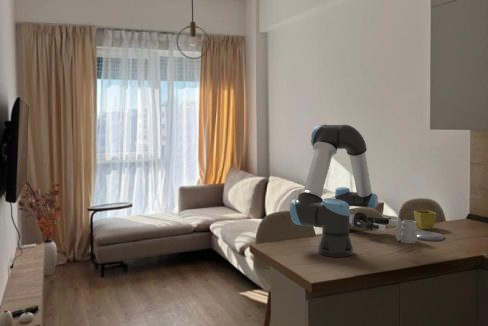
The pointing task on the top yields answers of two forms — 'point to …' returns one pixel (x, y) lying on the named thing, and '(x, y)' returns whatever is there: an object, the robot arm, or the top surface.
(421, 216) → the flower pot
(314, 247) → the top surface
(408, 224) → the mug
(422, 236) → the trivet
